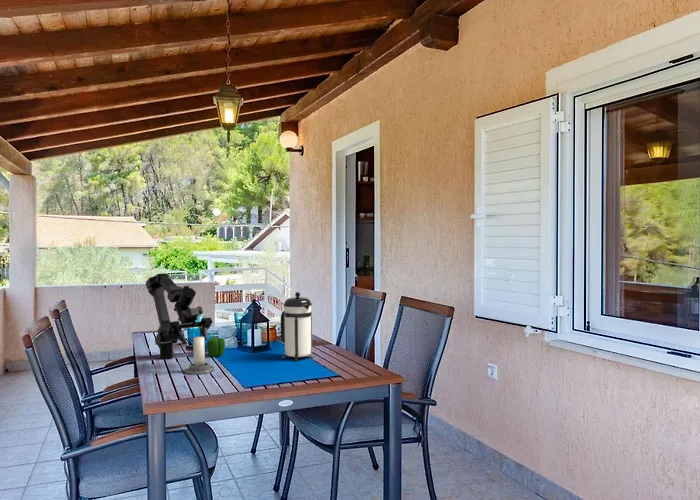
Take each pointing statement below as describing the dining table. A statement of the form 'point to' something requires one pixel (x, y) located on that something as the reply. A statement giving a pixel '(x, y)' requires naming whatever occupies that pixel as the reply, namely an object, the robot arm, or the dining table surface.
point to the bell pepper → (215, 346)
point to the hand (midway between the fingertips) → (196, 341)
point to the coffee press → (297, 327)
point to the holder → (199, 369)
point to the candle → (199, 351)
